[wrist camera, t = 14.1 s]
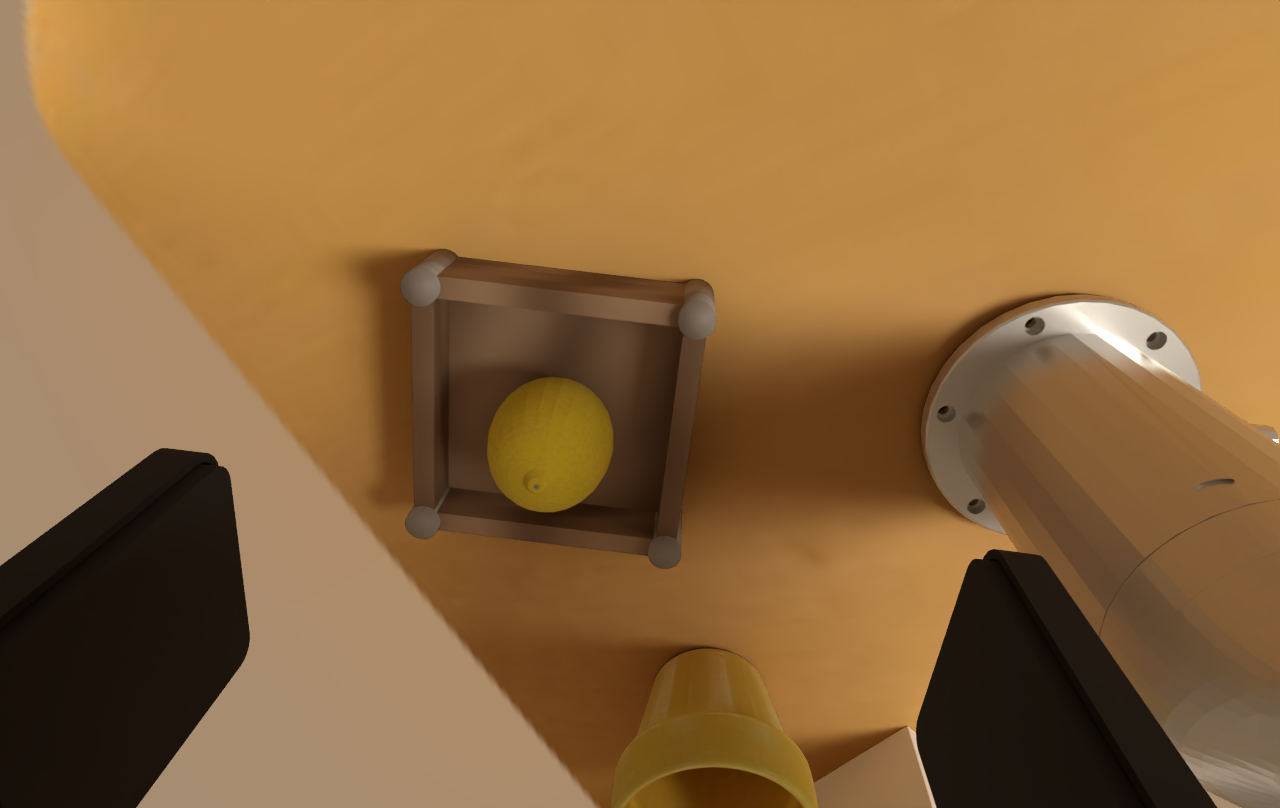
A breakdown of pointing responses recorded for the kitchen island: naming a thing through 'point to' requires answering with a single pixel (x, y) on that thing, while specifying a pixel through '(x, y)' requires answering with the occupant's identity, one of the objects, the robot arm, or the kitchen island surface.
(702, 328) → the wooden square tray
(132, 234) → the kitchen island surface
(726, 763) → the plant pot
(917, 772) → the milk
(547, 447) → the lemon
